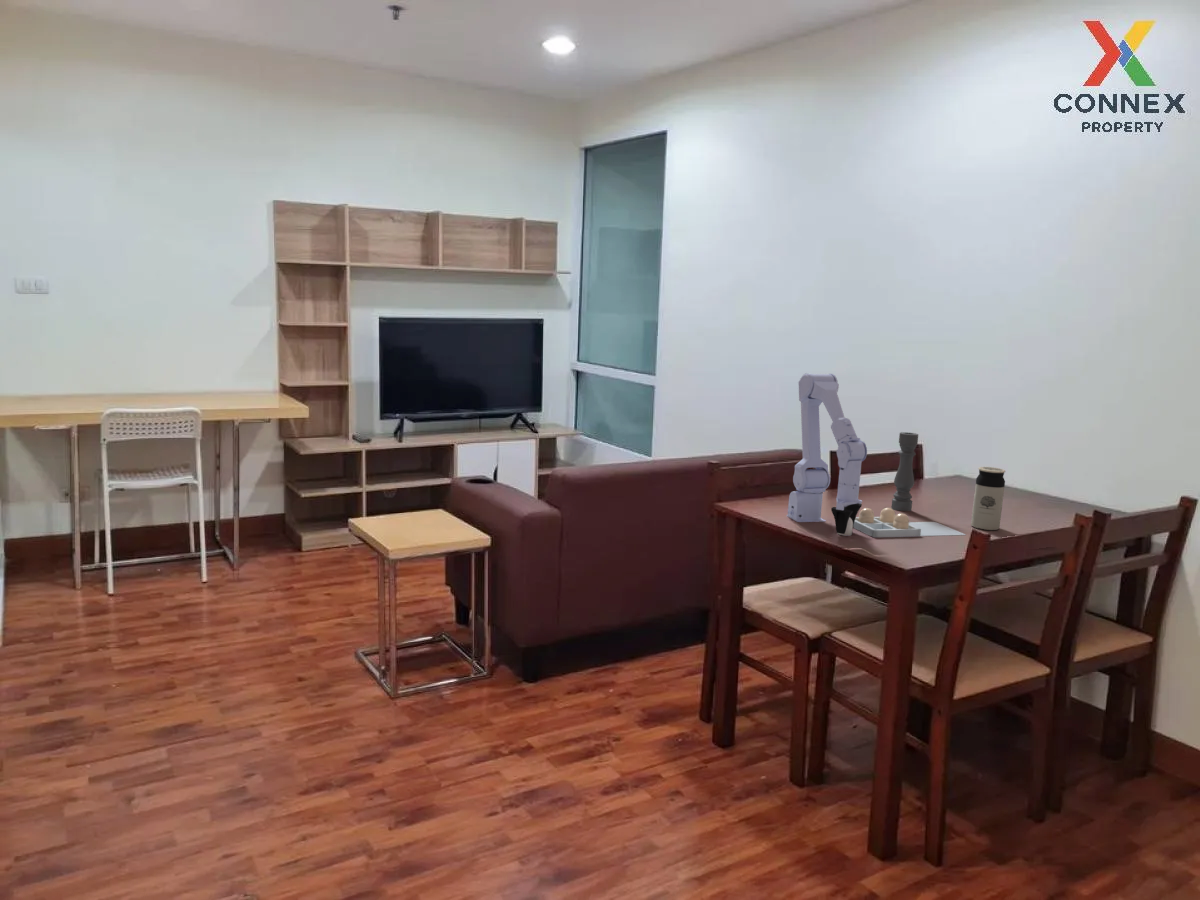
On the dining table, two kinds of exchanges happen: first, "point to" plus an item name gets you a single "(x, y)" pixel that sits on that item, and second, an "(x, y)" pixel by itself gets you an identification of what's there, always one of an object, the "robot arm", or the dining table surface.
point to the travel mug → (988, 498)
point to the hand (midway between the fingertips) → (844, 530)
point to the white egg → (848, 528)
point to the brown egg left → (866, 516)
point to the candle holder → (905, 472)
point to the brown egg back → (901, 521)
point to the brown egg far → (887, 515)
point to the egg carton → (913, 529)
